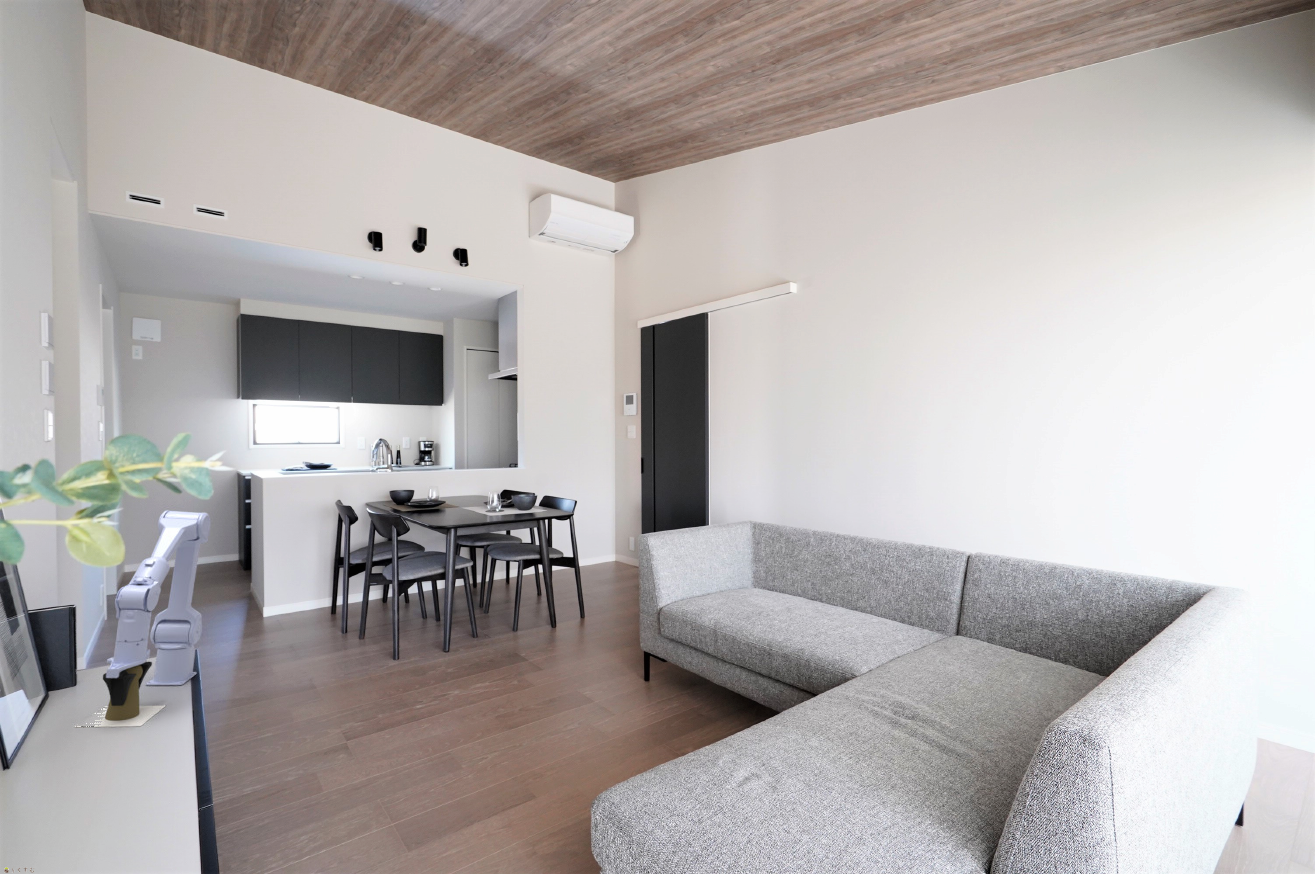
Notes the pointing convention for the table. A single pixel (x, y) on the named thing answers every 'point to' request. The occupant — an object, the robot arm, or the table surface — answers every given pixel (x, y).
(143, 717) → the card
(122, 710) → the olive knobbed shaker
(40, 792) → the table surface
